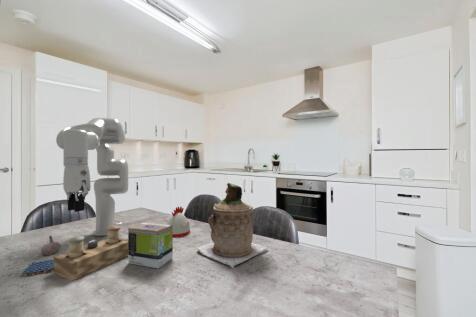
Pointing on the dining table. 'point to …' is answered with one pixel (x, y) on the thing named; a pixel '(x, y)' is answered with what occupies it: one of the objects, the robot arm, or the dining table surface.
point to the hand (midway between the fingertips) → (76, 209)
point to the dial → (92, 244)
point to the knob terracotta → (113, 235)
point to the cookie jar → (231, 230)
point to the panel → (90, 259)
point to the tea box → (150, 244)
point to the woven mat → (39, 268)
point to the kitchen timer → (179, 223)
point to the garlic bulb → (50, 247)
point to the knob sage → (75, 247)
